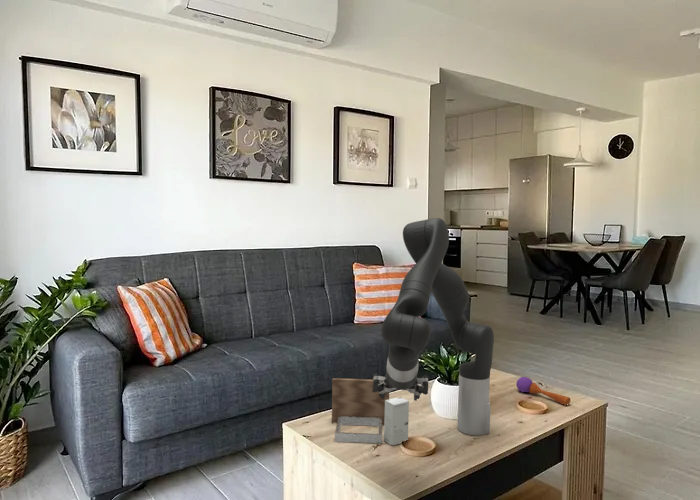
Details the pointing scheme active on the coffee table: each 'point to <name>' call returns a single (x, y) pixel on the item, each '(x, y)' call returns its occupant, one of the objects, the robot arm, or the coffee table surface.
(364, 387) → the wall board
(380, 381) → the robot arm
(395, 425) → the skincare box
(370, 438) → the grey rectangular frame
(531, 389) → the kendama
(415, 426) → the coffee table surface
